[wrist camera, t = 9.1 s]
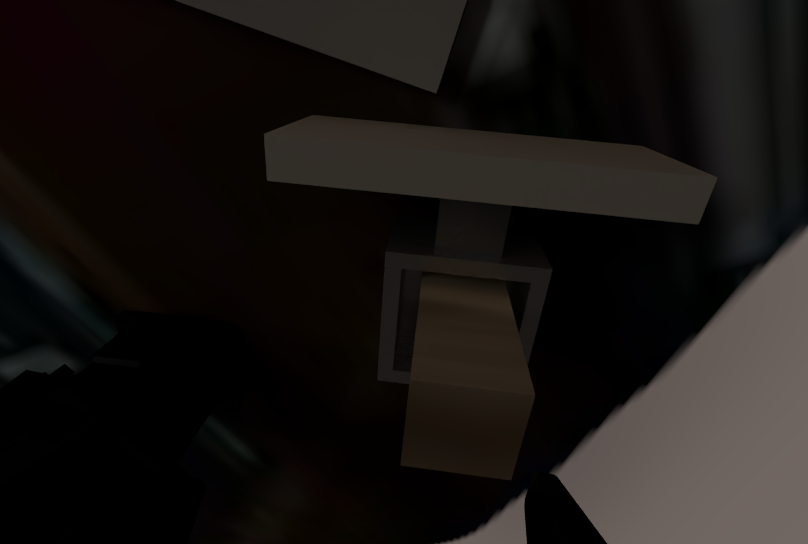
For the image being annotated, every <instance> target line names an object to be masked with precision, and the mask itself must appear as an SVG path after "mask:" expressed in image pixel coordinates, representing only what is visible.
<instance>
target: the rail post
mask: <svg viewBox="0 0 808 544" xmlns="http://www.w3.org/2000/svg"><path fill="white" fill-rule="evenodd" d="M534 398H535V393H534V389H533V385H532V381H531V378H530V374H529V370H528V366H527V363H526V359H525V355H524V351H523V348H522V344H521V340H520V336H519V333H518V329H517V325H516V321H515V318H514V314H513V310H512V306H511V303H510V299H509V295H508V291H507V288H506V284H505V280H500V279H491V278H481V277H472V276H463V275H454V274H445V273H436V272H427V271H423V272H422V280H421V289H420V298H419V306H418V315H417V323H416V332H415V340H414V349H413V358H412V366H411V375H410V383H409V392H408V402H407V411H406V420H405V429H404V438H403V447H402V456H401V465H400V466H408V467H415V468H423V469H430V470H438V471H445V472H453V473H460V474H468V475H475V476H483V477H490V478H498V479H505V480H511V478H512V475H513V471H514V468H515V464H516V461H517V457H518V454H519V450H520V447H521V443H522V440H523V436H524V433H525V430H526V426H527V423H528V419H529V416H530V412H531V409H532V405H533V402H534Z"/></svg>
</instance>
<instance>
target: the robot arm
mask: <svg viewBox="0 0 808 544" xmlns="http://www.w3.org/2000/svg"><path fill="white" fill-rule="evenodd" d="M125 319H126V320H127V321H126V320H125ZM115 323H116V327H117V330H118V335H116V336H115V337H114V338H113V339H111V340H110V341H109V342H108V343H107V344H105V345H104V346H103V347H102V348H101V349H99V350H98V351H97V352H96V353H94V354H93V355H92V356H91V357H90V359H89V361H90V365H88V366H87V367H86V368H85V369H84V370H83V371H81V372H80V373H79V374H78V375H77V376H75V375H74V374H73V373H74V371H73V370H71V369H70V368H69V367H68V366H67V365H66V364H64V365H62V366H61V367H60V368H58V369H57V370H55V371H54V372H53V373H51V374H50V375H48V374H47V373H46V372H44V373H39V372H34V371H29V370H26V371H24V372H23V373H21V374H20V375H19V376H17V377H16V378H15V379H13V380H12V381H11V382H9V383H8V384H6V385H5V386H4V387H2V388H1V389H0V544H187V543H188V540H189V537H190V534H191V531H192V528H193V525H194V522H195V519H196V516H197V513H198V510H199V507H200V504H201V501H202V498H203V495H204V492H205V489H206V484H205V483H204V482H202V481H201V480H200V479H199V478H197V479H196V478H195V477H193V476H192V475H191V474H190V473H189V472H187V471H186V470H185V469H184V468H183V467H182V466H180V465H179V464H178V463H177V462H178V460H179V459H180V457H181V456H182V454H183V453H184V452H185V450H186V449H187V447H188V446H189V444H190V443H191V441H192V440H193V438H194V437H195V435H196V434H197V432H198V431H199V429H200V428H201V426H202V425H203V423H204V422H205V420H206V419H207V418H208V416H209V415H210V413H211V412H217V413H224V414H236V413H237V412H238V411H239V409H240V408H241V398H240V390H239V382H238V374H237V366H236V358H235V350H234V342H233V334H232V329H231V327H230V326H229V325H228V324H227V323H225V322H220V321H212V320H203V319H195V318H188V317H182V316H174V315H165V314H157V313H148V312H145V313H144V312H135V311H127V310H126V311H122V312H120V313H119V314H118V315H116V317H115ZM219 329H220V330H222V331H223V332H224V333H222V332H221V331H220V330H219ZM524 508H525V522H526V536H527V544H607V543H606V542H605V540H604V539H603V538H602V536H601V535H600V534H599V532H598V531H597V529H596V528H595V527H594V526H593V524H592V523H591V521H590V520H589V519H588V517H587V516H586V515H585V513H584V512H583V511H582V509H581V508H580V507H579V505H578V504H577V503H576V501H575V500H574V499H573V497H572V496H571V495H570V493H569V492H568V491H567V489H566V488H565V487H564V485H563V484H562V483H561V481H560V480H559V479H558V477H557V476H555V475H553V474H549V473H542V472H536V473H535V474H534V475H533V477H532V480H531V483H530V486H529V489H528V491H527V494H526V497H525V507H524Z"/></svg>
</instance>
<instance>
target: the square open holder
mask: <svg viewBox="0 0 808 544" xmlns="http://www.w3.org/2000/svg"><path fill="white" fill-rule="evenodd" d="M511 207H512V205H502V204H492V203H482V202H472V201H462V200H453V199H443V198H440V201H439V209H438V217H437V219H431V218H421V217H411V216H402V215H397V218H396V221H395V224H394V227H393V230H392V233H391V236H390V239H389V243H388V246H387V249H386V253H385V269H384V284H383V300H382V316H381V331H380V347H379V363H378V379H377V380H379V381H388V382H396V383H404V384H409V383H410V375H411V366H412V358H413V349H414V340H415V332H416V323H417V315H418V306H419V298H420V289H421V280H422V272H423V271H427V272H436V273H445V274H454V275H463V276H472V277H481V278H491V279H500V280H505V284H506V288H507V291H508V295H509V299H510V303H511V306H512V310H513V314H514V318H515V321H516V325H517V329H518V333H519V336H520V340H521V344H522V348H523V351H524V355H525V359H526V363H527V366H528V362H529V358H530V354H531V350H532V347H533V343H534V339H535V335H536V331H537V328H538V324H539V320H540V316H541V312H542V308H543V305H544V301H545V297H546V293H547V289H548V285H549V282H550V278H551V274H552V270H553V269H552V267H551V265H550V263H549V261H548V260H547V258H546V256H545V254H544V252H543V250H542V248H541V246H540V244H539V242H538V240H537V238H536V236H535V234H534V232H533V230H532V229H527V228H517V227H508V222H509V217H510V212H511Z"/></svg>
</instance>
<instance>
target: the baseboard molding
mask: <svg viewBox="0 0 808 544" xmlns="http://www.w3.org/2000/svg"><path fill="white" fill-rule="evenodd" d="M175 1H178V2H181V3H183V4H186V5H189V6H192V7H195V8H198V9H200V10H203V11H206V12H209V13H212V14H214V15H217V16H220V17H223V18H226V19H228V20H231V21H234V22H237V23H240V24H242V25H245V26H248V27H251V28H254V29H256V30H259V31H262V32H265V33H268V34H270V35H273V36H276V37H279V38H282V39H284V40H287V41H290V42H293V43H296V44H299V45H301V46H304V47H307V48H310V49H313V50H315V51H318V52H321V53H324V54H327V55H329V56H332V57H335V58H338V59H341V60H343V61H346V62H349V63H352V64H355V65H357V66H360V67H363V68H366V69H369V70H371V71H374V72H377V73H380V74H383V75H385V76H388V77H391V78H394V79H397V80H399V81H402V82H405V83H408V84H411V85H414V86H416V87H419V88H422V89H425V90H428V91H430V92H433V93H436V96H437V94H438V91H439V88H440V85H441V82H442V79H443V76H444V73H445V70H446V67H447V64H448V61H449V57H450V54H451V51H452V48H453V45H454V42H455V39H456V36H457V33H458V30H459V27H460V24H461V21H462V18H463V15H464V12H465V9H466V6H467V3H468V0H175Z"/></svg>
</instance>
